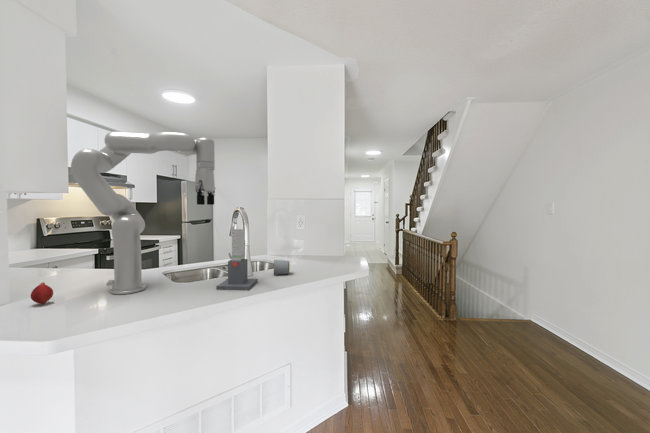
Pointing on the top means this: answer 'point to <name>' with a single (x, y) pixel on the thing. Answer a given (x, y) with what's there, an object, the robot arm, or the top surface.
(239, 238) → the column
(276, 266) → the ceramic mug
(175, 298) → the top surface
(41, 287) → the onion
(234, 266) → the stand
